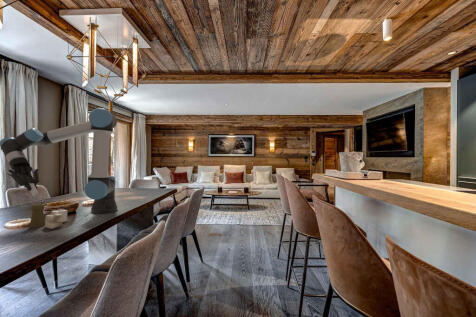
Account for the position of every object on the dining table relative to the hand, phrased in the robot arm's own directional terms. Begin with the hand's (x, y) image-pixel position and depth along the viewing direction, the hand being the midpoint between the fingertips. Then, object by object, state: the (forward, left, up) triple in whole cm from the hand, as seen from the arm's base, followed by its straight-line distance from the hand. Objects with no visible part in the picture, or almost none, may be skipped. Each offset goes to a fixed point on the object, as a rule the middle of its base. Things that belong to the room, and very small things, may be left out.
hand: (35, 194), depth 117 cm
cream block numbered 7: (-7, -7, -16) cm, 19 cm away
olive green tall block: (-2, +1, -16) cm, 16 cm away
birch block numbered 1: (-11, +2, -16) cm, 19 cm away
